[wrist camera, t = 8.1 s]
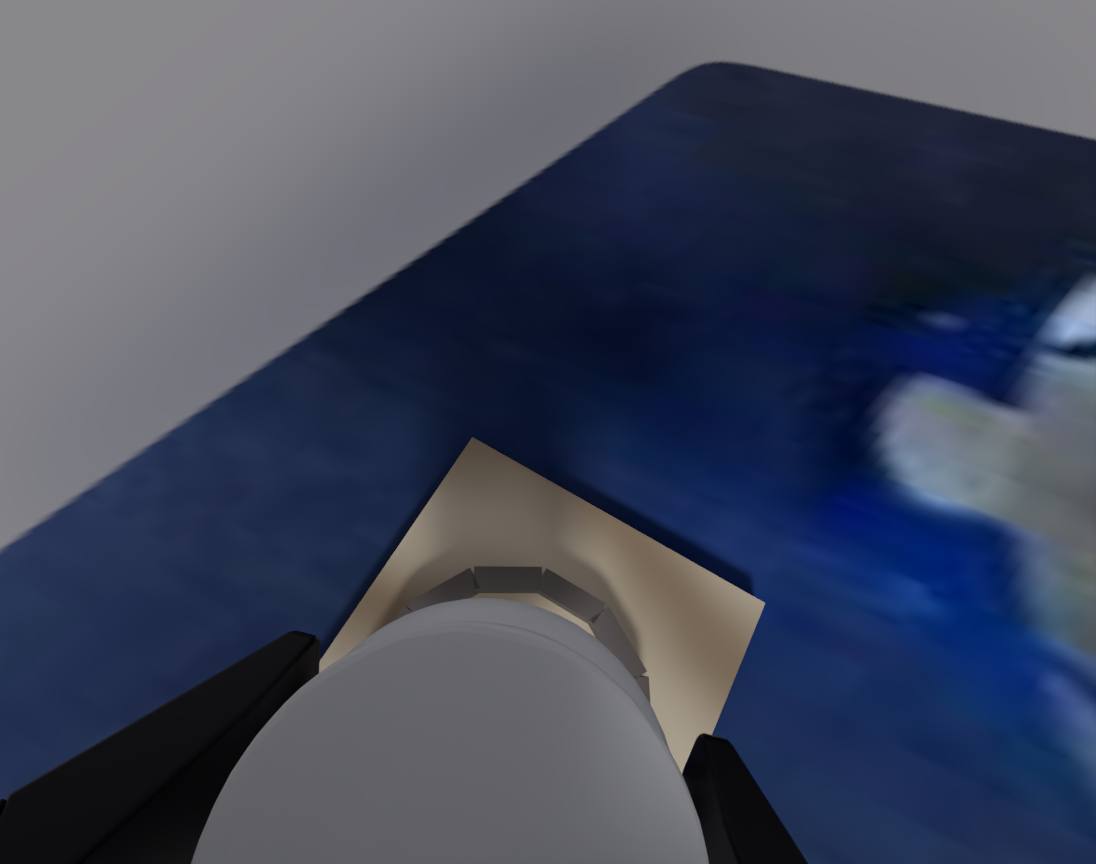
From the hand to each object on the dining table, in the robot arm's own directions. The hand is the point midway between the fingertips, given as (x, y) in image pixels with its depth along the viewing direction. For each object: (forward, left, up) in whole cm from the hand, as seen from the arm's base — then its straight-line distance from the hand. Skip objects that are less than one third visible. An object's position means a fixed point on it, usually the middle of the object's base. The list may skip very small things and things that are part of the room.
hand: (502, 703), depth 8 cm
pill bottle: (-1, 0, -7) cm, 7 cm away
